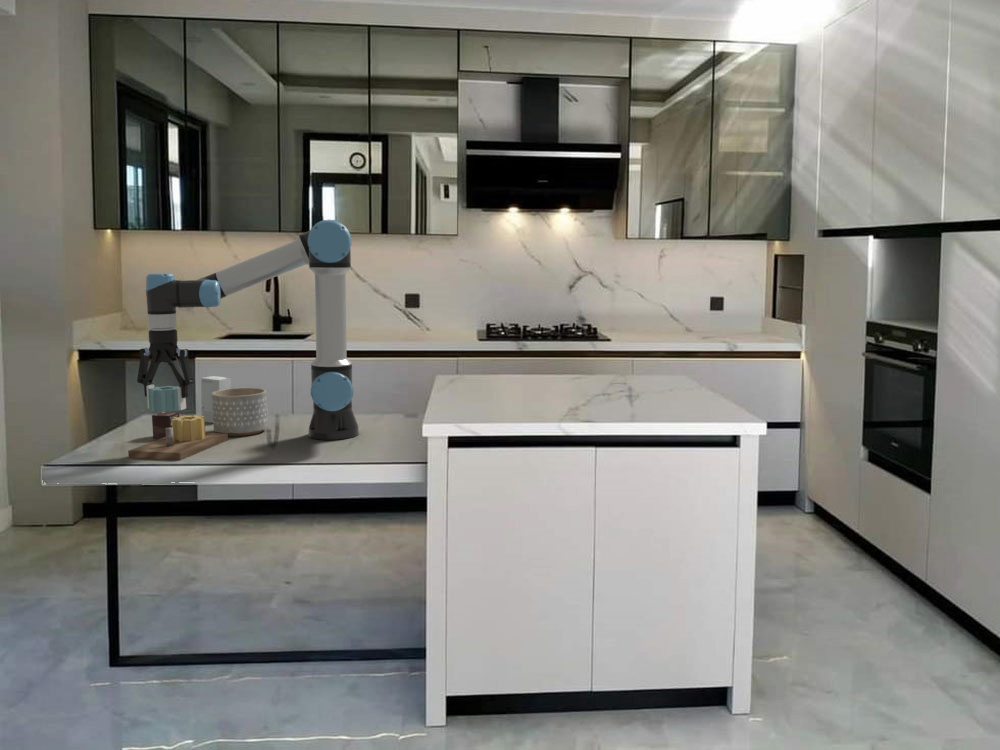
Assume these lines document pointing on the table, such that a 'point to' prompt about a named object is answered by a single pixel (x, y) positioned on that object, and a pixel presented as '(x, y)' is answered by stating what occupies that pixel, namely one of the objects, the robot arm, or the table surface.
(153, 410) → the gear
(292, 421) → the table surface
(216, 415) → the planter
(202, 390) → the skincare box
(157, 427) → the box
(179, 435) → the gear out
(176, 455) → the gear board
